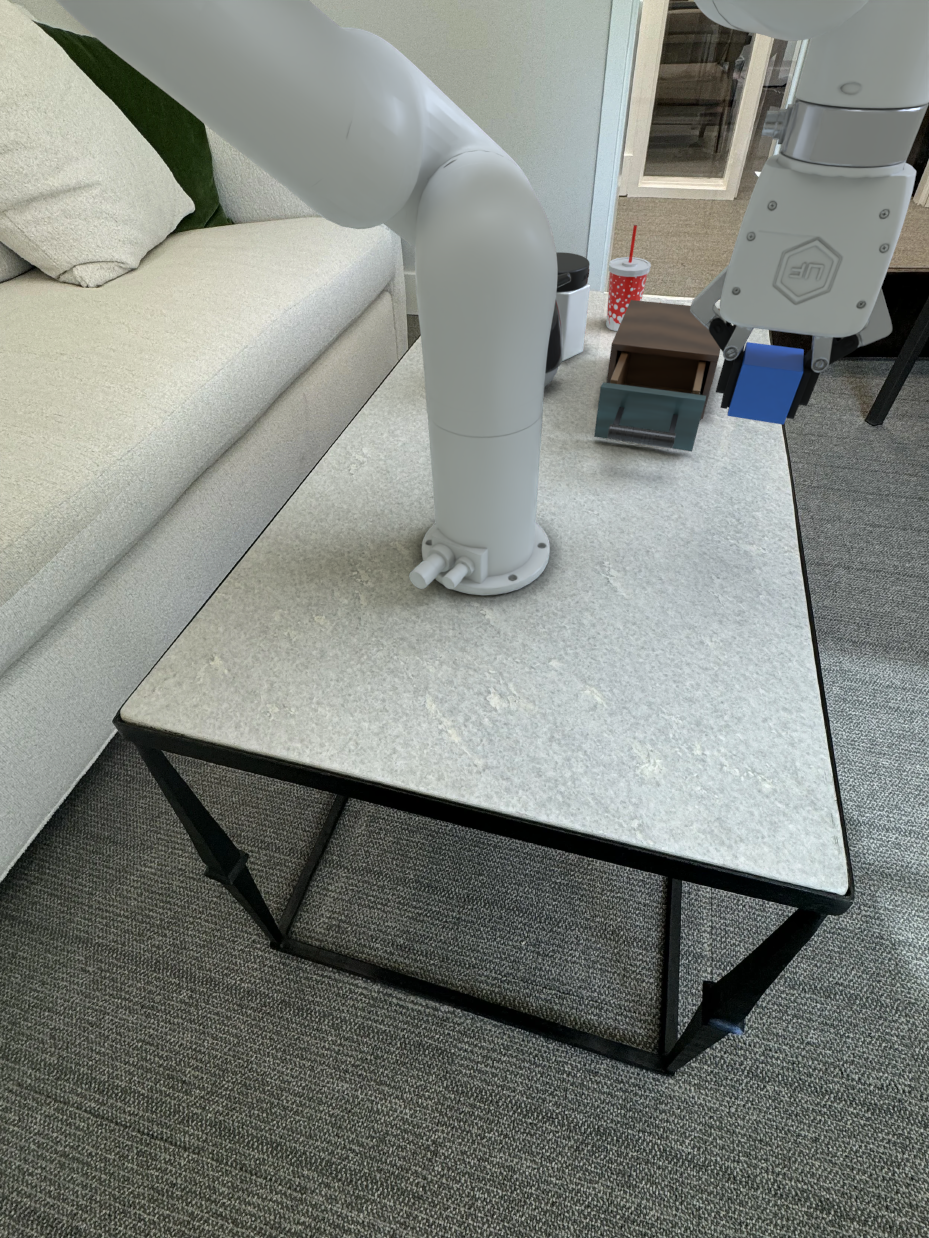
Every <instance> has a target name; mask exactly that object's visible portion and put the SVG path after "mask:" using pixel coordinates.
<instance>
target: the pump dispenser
mask: <svg viewBox="0 0 929 1238" xmlns="http://www.w3.org/2000/svg"><path fill="white" fill-rule="evenodd" d="M570 281H571V275H570V274H569V273H565V274H562V275H558V276H557V288H558V287H560V286H562V285H564V284H566V283H569V282H570ZM562 359H563V335H562V324H561V317H560V312H559V307H558V303H557V300H555V307H554V313H553V318H552V324H551V331H550V337H549V343H548V351H547V360H546V371H545V382H544V388H546V387H547V386H548V385H549V384H550V383H551V382H552V381H553V379H554V378H555V376H556V374H557V373H558V370H559V367H560V366H561V365H562V363H563V361H562Z"/></svg>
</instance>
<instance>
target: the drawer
mask: <svg viewBox="0 0 929 1238" xmlns="http://www.w3.org/2000/svg"><path fill="white" fill-rule="evenodd" d="M705 364H706V361H704V360H696V359H687V358H678V357H670V356H661V355H652V354H644V353H635V352H627V351H622V353H621V355H620V358H619V360H618V363H617V365H616V368H615V370H614V373H613V375H612V378H611V380H610V383H606V382H602V383H601V385H600V390H599V397H598V403H597V412H596V419H595V426H594V436H593V437H594V438H600V439H605V440H612V441H619V442H624V443H632V444H640V445H646V446H653V447H658V448H659V447H660V448H665V449H673V450H678V451H679V450H680V451H687V452H693V450H694V449H693V448H694V445H695V441H696V438H697V435H698V429H699V427H700V422H701V420H702V419H701V415H702V411H703V407H704V403H705V399H706V396H705V395H699V394H700V389H701V384H702V379H703V374H704V369H705Z"/></svg>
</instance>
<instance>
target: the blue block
mask: <svg viewBox="0 0 929 1238" xmlns="http://www.w3.org/2000/svg"><path fill="white" fill-rule="evenodd" d="M804 351H805V350H804V349H803V348H798V347H797V348H796V347H788V346H782V345H773V344H766V343H757V342H750V341H746V343H745V346H744V357H743V363H742V367H741V370H740V374H739V377H738V380H737V384H736V387H735V390H734V393H733V397H732V400H731V403H730V407H728V408H727V409H728V410H727V415H726V416H727V417H730V418H731V417H732V418H737V419H738V418H739V419H744V420H751V421H758V422H764V423H769V424H777V425H784V424H785V422H786V419H787V414H788V412H789V409H790V406H791V404H792V401H793V398H794V396H795V393H796V391H797V388H798V385H799V383H800V380H801V377H802V375H803V358H804V356H805V355H804V353H805V352H804Z"/></svg>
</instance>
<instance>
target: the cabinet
mask: <svg viewBox="0 0 929 1238" xmlns="http://www.w3.org/2000/svg"><path fill="white" fill-rule="evenodd" d="M690 307H691V305H688V304H676V303H669V302H668V303H666V302H657V301H645V300H642V301H637V300H631V301H630V303H629V306H628V308H627V310H626V312H625V315H624V317H623V319H622V322H621V324H620V326H619V328H618V331H616V333H615V335H614V338H613V340H612V342H611V347H610V354H609V361H608V368H607V374H606V375H607V376H606V381H605V383H610V380H611V378H612V375H613V373H614V370H615V368H616V365H617V363H618V360H619V358H620V355H621V353H622V351H627V352H635V353H644V354H652V355H661V356H670V357H678V358H687V359H696V360H704V361H706V364H705V369H704V374H703V379H702V384H701V389H700V394H699V395H705V396H706V399H705V403H704V407H703V411H702V415H701V419H700V420H702V419H704V416H705V412H706V408H707V404H708V401H709V397H710V394H711V389H712V386H713V381H714V378H715V373H716V371H717V366H718V362H719V360H720V359H719V358H720V354H721V349H720V347H719V346H718V344H717V343H716V341H715V340H714V338H713V337H712V335H711V334H710V332H709V330H708V329H707V328H706V327H705V326H704V325H703V324H702V323H701V322H700V321H699V320H698V319H697V318H696V317H695V316H694V315H693V314H692V313H691V312H690ZM717 308H718V310H719V311H720V307H717Z"/></svg>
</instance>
